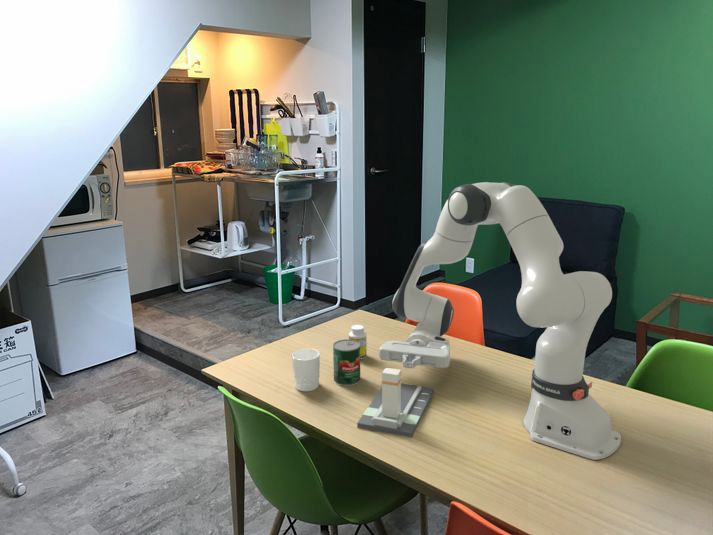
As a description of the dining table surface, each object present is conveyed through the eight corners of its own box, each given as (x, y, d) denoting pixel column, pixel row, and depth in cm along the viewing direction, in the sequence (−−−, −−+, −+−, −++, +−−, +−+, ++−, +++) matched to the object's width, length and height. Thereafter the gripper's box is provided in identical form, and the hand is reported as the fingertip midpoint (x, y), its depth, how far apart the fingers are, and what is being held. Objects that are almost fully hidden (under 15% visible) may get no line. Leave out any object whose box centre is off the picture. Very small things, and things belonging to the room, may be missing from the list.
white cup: (319, 392, 161) (318, 360, 159) (291, 392, 162) (290, 360, 159) (321, 379, 169) (320, 348, 166) (295, 379, 169) (293, 348, 167)
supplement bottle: (346, 355, 185) (345, 325, 182) (361, 352, 188) (361, 322, 185) (354, 362, 180) (353, 331, 178) (369, 358, 183) (369, 328, 180)
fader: (400, 412, 147) (401, 369, 144) (397, 418, 145) (397, 375, 141) (385, 410, 149) (385, 367, 145) (381, 415, 146) (381, 372, 143)
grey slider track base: (434, 392, 161) (434, 382, 160) (411, 437, 139) (411, 426, 138) (386, 384, 166) (386, 375, 165) (357, 427, 144) (357, 416, 143)
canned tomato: (348, 388, 164) (347, 352, 161) (328, 380, 169) (327, 345, 166) (366, 378, 170) (365, 343, 167) (346, 370, 175) (345, 337, 172)
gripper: (386, 332, 173) (371, 350, 160) (454, 340, 166) (444, 359, 153) (386, 352, 174) (372, 370, 162) (454, 360, 167) (444, 380, 155)
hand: (407, 365), depth 157 cm, fingers closed
